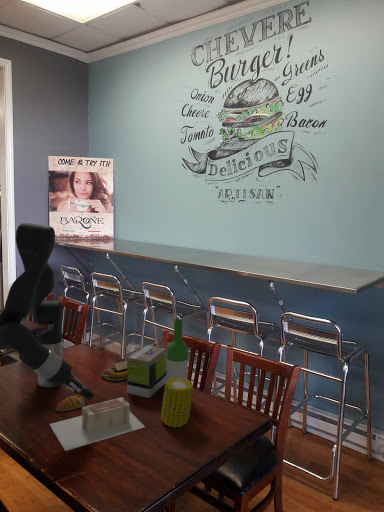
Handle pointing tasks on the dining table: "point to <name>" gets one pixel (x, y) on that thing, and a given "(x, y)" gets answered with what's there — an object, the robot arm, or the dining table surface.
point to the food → (176, 402)
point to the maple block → (105, 414)
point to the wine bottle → (177, 355)
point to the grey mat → (77, 436)
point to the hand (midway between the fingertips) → (91, 396)
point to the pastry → (70, 403)
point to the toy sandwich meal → (116, 372)
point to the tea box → (146, 371)
